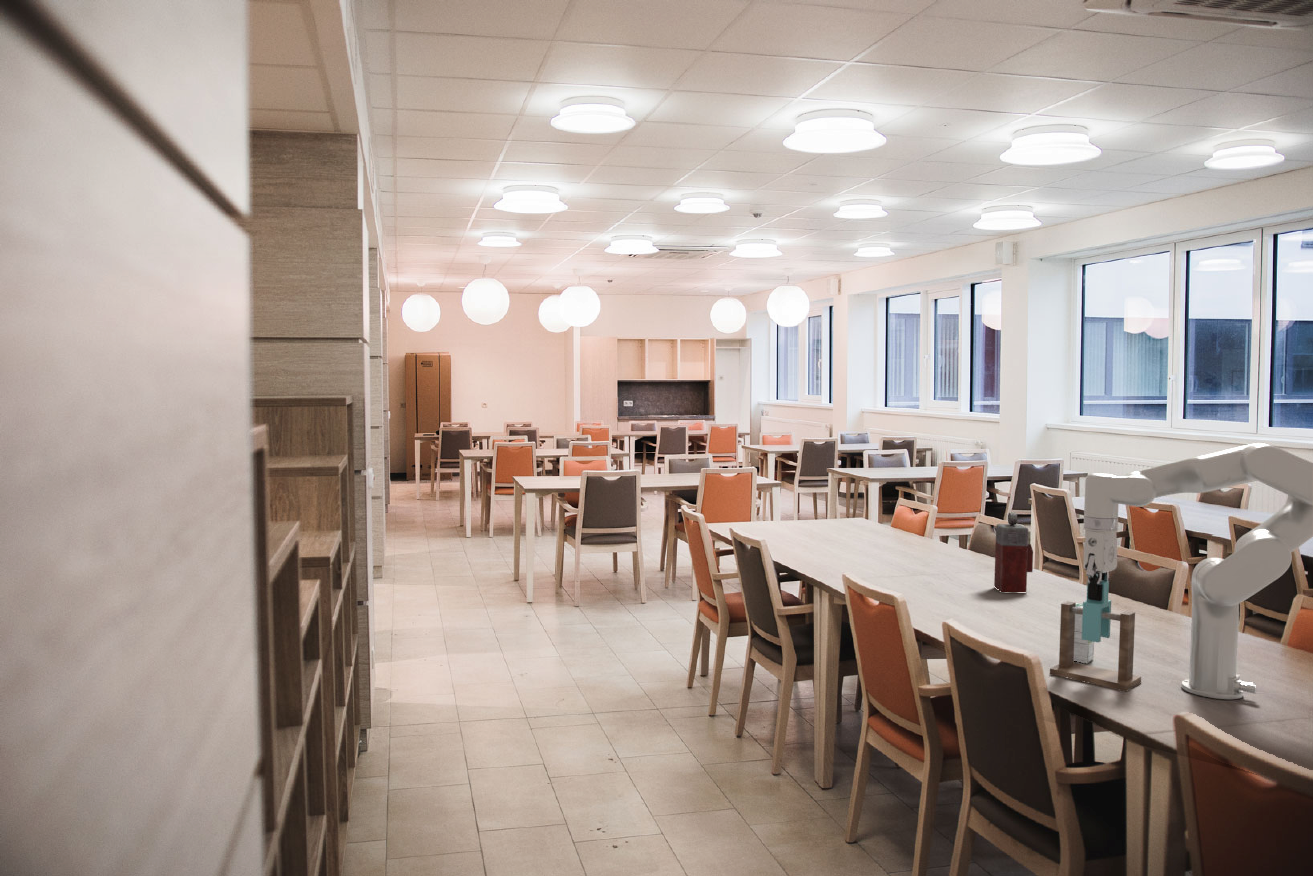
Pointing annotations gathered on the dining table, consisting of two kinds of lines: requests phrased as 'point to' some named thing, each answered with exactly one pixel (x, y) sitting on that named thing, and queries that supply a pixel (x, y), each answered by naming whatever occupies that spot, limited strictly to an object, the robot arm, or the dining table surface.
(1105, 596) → the teal block figure
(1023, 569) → the dark red lidded canister
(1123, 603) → the dining table surface
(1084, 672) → the hanger rack
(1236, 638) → the robot arm
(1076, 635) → the syrup box
